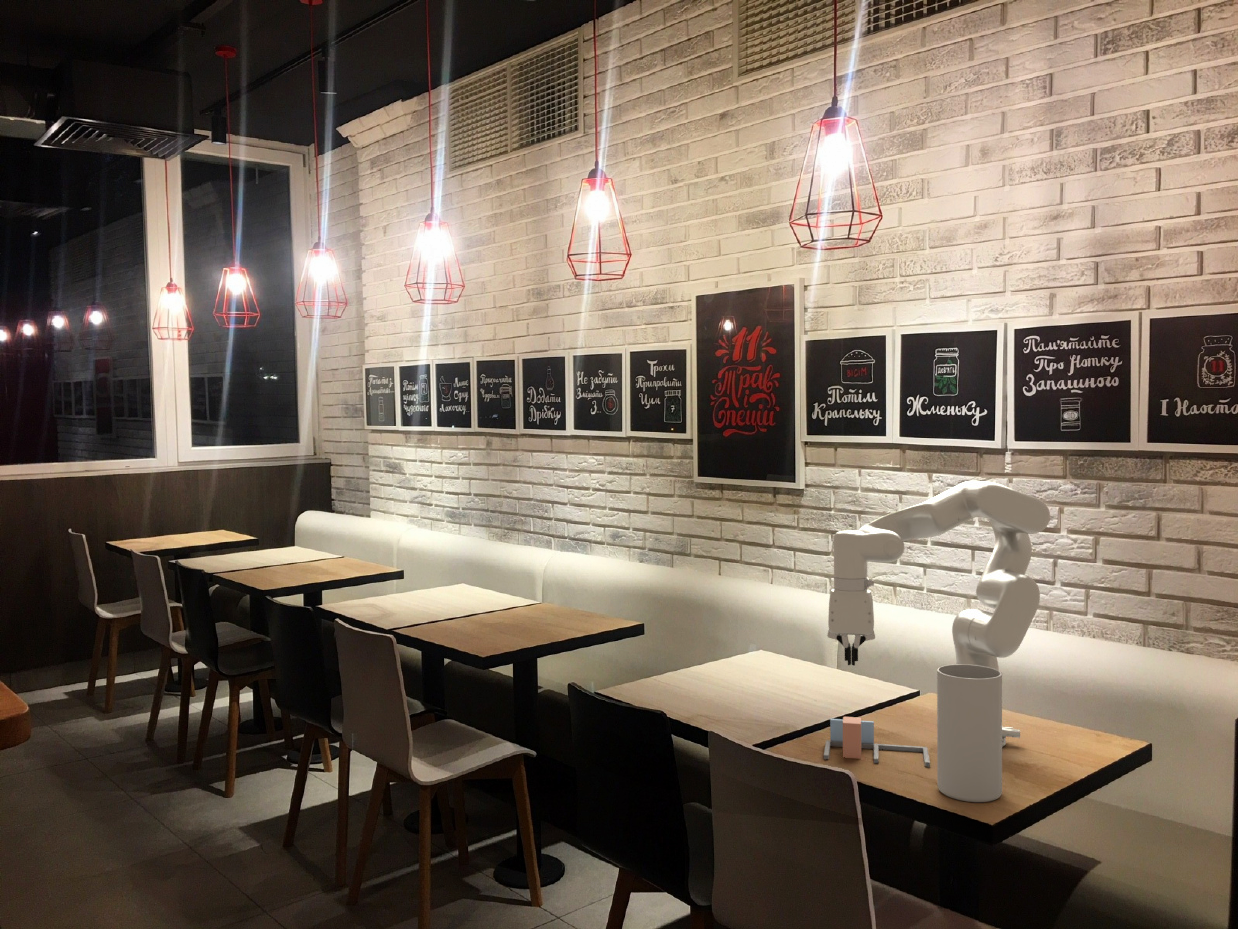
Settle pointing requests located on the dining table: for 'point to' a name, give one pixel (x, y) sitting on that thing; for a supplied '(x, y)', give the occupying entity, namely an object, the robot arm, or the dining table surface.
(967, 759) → the cylinder vase
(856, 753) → the plug block
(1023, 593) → the robot arm
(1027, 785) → the dining table surface
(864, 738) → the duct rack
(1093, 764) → the dining table surface
